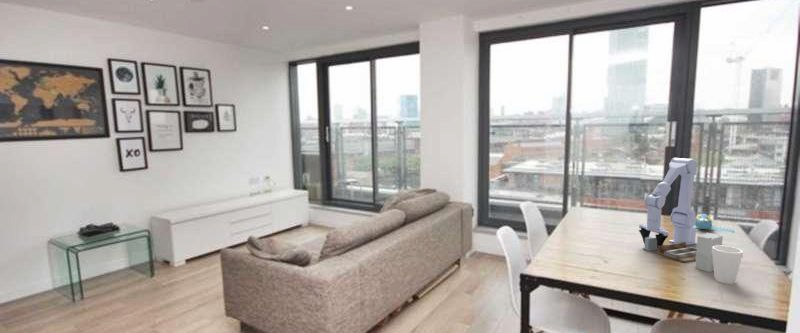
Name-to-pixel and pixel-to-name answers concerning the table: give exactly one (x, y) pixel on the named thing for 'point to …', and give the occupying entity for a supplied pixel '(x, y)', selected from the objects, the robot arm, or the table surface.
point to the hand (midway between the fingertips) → (652, 245)
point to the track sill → (678, 252)
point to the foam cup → (726, 263)
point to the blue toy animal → (707, 223)
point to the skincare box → (706, 251)
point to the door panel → (650, 243)
